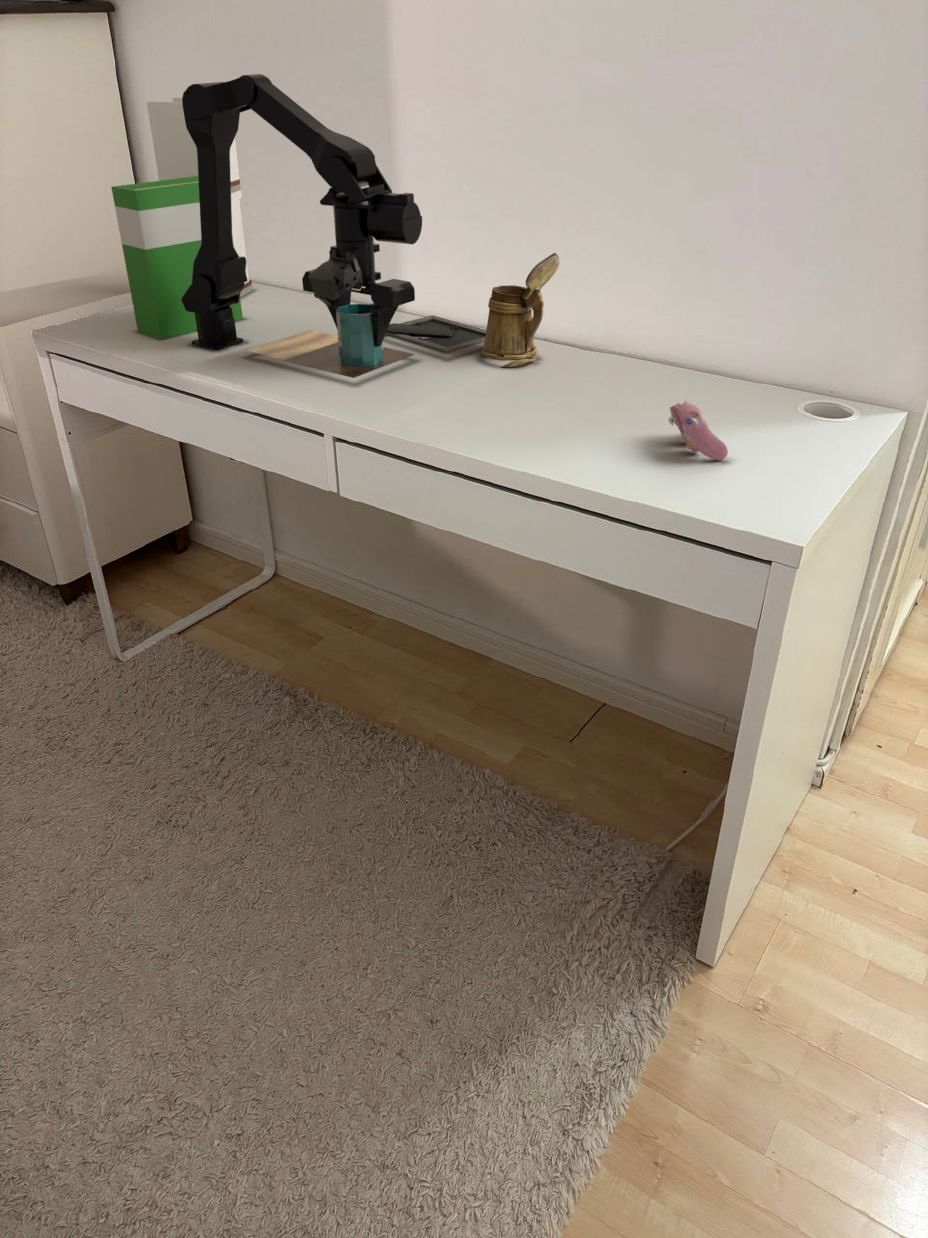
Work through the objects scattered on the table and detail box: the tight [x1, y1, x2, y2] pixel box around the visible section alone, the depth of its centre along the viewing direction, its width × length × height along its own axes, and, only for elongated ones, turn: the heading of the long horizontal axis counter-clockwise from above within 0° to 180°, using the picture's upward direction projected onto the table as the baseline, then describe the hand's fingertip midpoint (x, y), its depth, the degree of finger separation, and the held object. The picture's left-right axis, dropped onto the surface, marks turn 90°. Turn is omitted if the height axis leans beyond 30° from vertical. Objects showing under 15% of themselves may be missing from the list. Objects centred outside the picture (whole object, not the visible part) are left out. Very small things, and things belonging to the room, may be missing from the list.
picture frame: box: [385, 314, 486, 354], centre depth 165 cm, size 13×2×18 cm
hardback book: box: [111, 176, 244, 340], centre depth 168 cm, size 18×7×24 cm, turn 138°
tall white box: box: [146, 97, 254, 298], centre depth 184 cm, size 11×11×35 cm
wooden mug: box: [481, 252, 560, 368], centre depth 150 cm, size 9×14×18 cm, turn 44°
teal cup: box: [336, 303, 385, 366], centre depth 150 cm, size 7×7×8 cm
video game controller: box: [668, 400, 729, 461], centre depth 123 cm, size 10×5×7 cm, turn 5°
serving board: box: [245, 329, 416, 379], centre depth 156 cm, size 24×15×1 cm, turn 53°
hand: (360, 342), depth 151 cm, fingers closed on teal cup, 7 cm apart
